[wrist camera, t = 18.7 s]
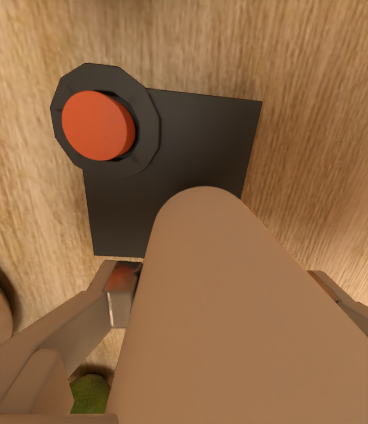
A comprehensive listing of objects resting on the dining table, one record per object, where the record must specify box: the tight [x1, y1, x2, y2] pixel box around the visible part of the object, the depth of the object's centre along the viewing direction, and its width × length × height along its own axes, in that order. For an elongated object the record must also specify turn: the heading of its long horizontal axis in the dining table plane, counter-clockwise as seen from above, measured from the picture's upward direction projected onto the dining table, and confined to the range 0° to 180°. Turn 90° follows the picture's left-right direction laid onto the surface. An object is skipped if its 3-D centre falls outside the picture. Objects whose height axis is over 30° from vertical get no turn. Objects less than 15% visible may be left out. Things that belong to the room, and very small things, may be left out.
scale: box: [50, 63, 262, 258], centre depth 14 cm, size 14×12×3 cm
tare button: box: [62, 90, 135, 161], centre depth 10 cm, size 3×3×2 cm
